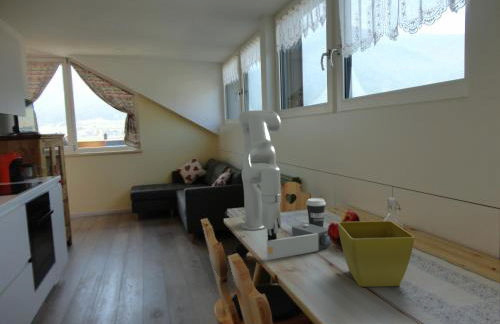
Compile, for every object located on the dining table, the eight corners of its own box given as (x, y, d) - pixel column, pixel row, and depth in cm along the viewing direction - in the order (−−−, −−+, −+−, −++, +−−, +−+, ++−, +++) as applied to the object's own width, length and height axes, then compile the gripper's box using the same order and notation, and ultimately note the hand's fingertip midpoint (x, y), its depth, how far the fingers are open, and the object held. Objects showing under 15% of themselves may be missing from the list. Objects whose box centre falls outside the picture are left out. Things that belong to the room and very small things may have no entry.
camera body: (292, 242, 148) (291, 225, 148) (306, 237, 154) (306, 221, 153) (320, 251, 136) (319, 233, 135) (334, 246, 141) (334, 228, 141)
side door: (317, 249, 137) (316, 233, 136) (319, 251, 135) (318, 234, 135) (267, 258, 130) (266, 240, 129) (268, 259, 128) (268, 242, 127)
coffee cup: (304, 231, 163) (303, 201, 161) (308, 226, 172) (308, 197, 170) (324, 233, 159) (324, 202, 158) (327, 227, 168) (327, 198, 167)
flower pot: (337, 266, 121) (337, 221, 119) (390, 265, 120) (391, 220, 119) (351, 292, 102) (351, 238, 100) (415, 291, 101) (416, 237, 100)
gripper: (255, 195, 136) (257, 239, 138) (268, 203, 122) (269, 252, 124) (273, 194, 138) (274, 237, 140) (287, 201, 124) (288, 249, 126)
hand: (272, 244), depth 132 cm, fingers closed
